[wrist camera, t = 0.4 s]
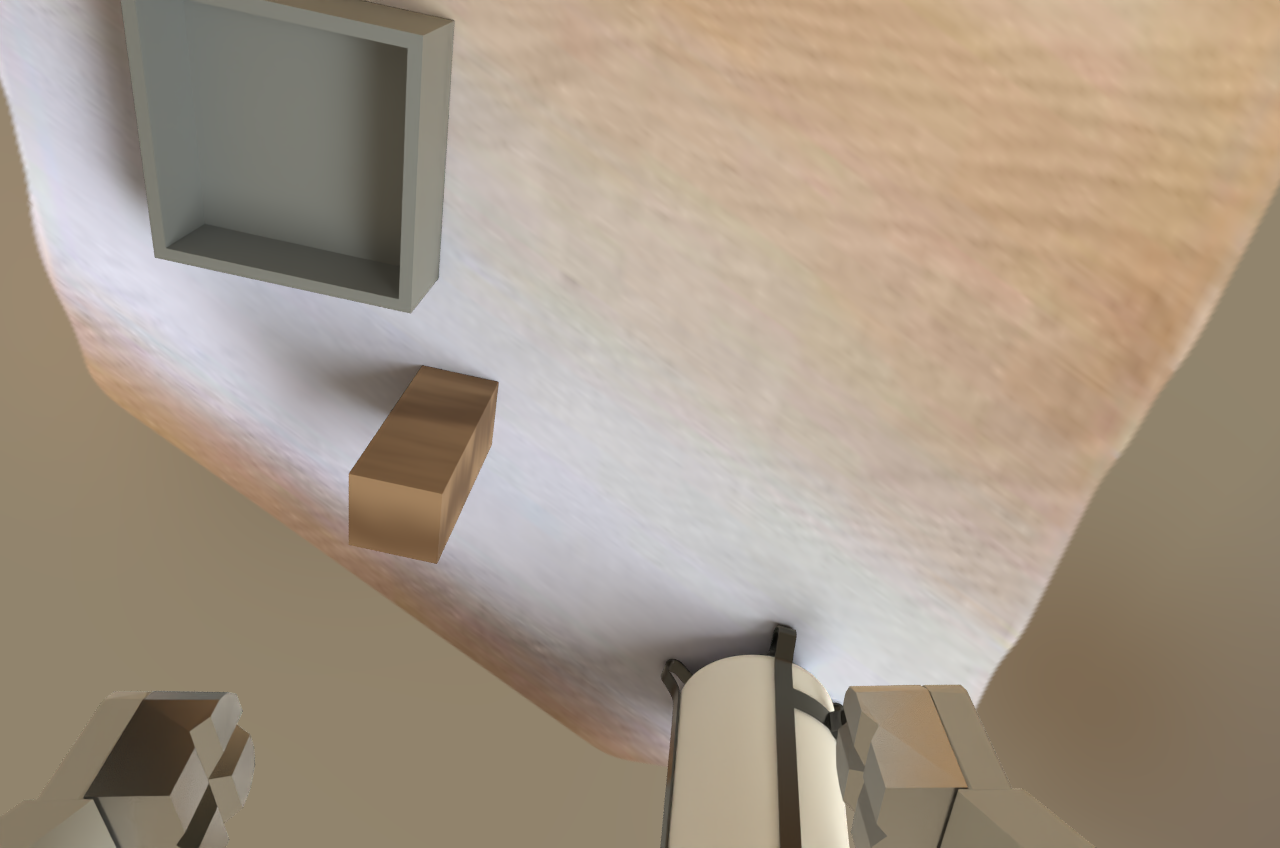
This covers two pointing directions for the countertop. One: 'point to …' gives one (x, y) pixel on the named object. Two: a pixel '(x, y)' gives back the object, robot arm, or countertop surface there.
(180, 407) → the countertop surface
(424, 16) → the box
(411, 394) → the wooden block
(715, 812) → the coffee press
